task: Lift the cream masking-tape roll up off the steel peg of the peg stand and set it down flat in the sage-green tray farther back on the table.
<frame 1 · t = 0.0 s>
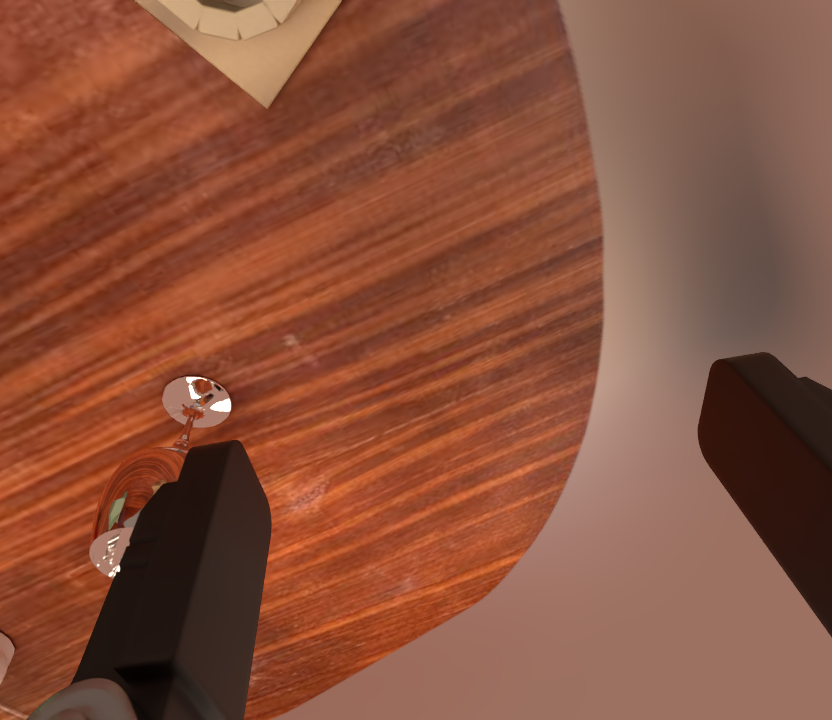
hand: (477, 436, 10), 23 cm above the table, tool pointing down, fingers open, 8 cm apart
wineglass: (198, 400, 37), on the table
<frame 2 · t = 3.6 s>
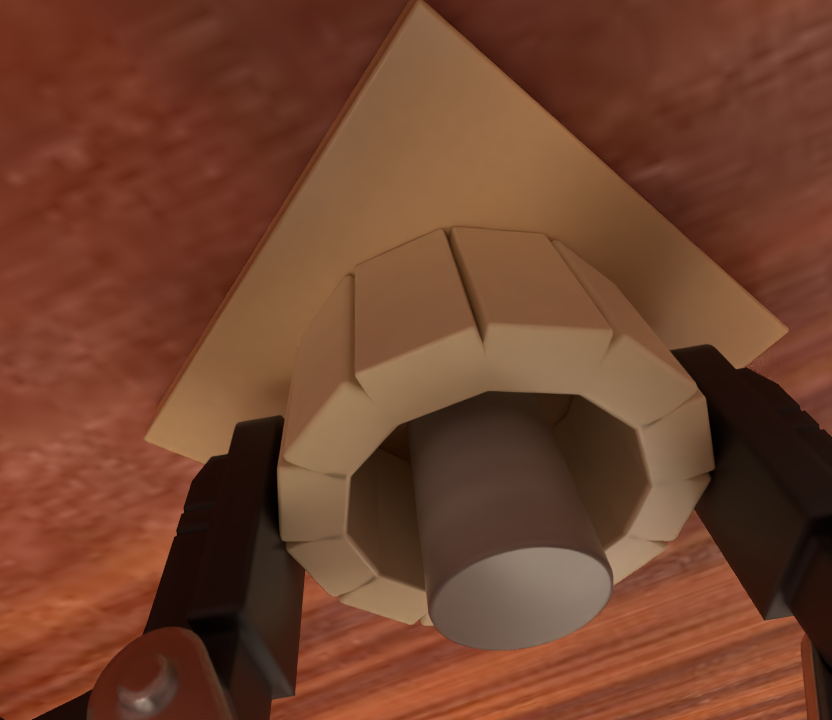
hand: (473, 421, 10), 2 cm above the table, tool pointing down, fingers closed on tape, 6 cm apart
peg stand: (457, 356, 11), on the table
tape: (465, 386, 11), point 1 cm above the table, touching gripper, peg stand
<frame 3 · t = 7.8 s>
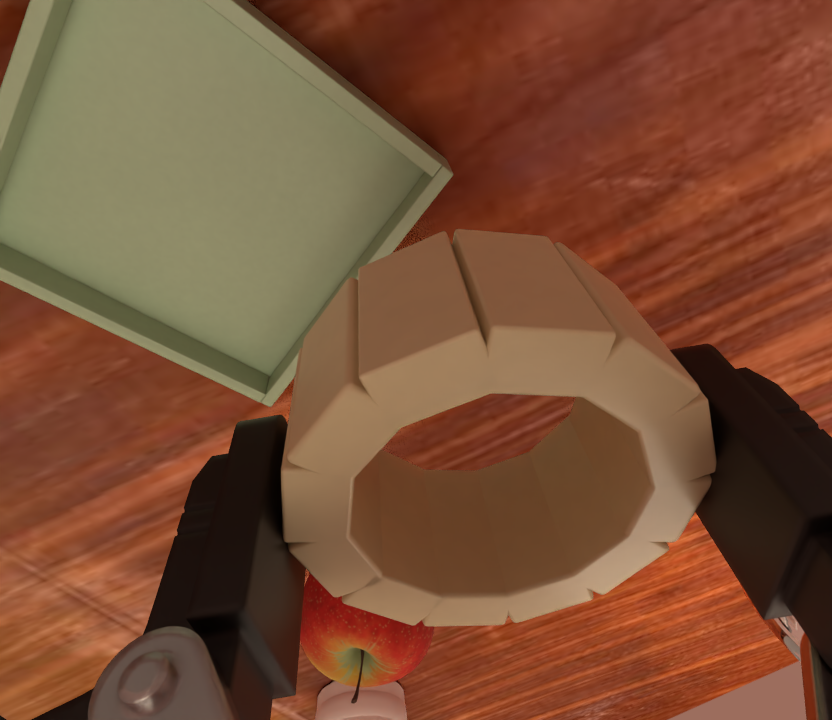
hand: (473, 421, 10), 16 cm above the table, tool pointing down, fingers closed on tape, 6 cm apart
wineglass: (713, 455, 36), on the table
bottle: (361, 692, 50), on the table
tray: (209, 196, 23), on the table
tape: (467, 387, 11), point 15 cm above the table, touching gripper
apple: (365, 543, 38), on the table
when the fingers open (1 cm above the table, at t = 12.2 s): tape stays where it is, resting on tray.
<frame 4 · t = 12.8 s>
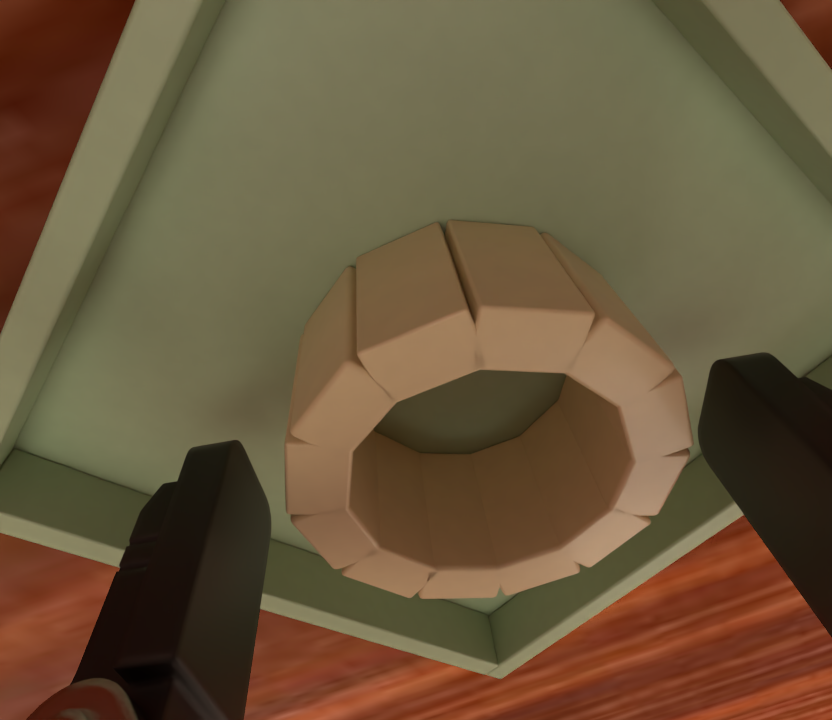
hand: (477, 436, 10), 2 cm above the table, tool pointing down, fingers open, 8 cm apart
tray: (455, 357, 12), on the table
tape: (460, 373, 11), resting on tray
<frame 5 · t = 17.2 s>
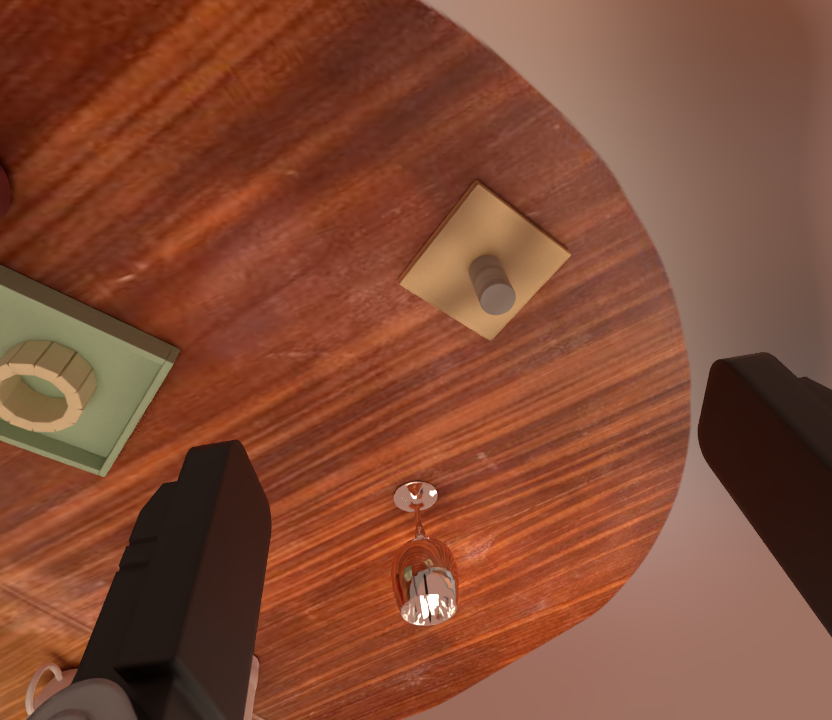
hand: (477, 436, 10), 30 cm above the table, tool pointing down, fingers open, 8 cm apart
wineglass: (415, 495, 55), on the table
bottle: (227, 660, 70), on the table
peg stand: (482, 263, 41), on the table
tray: (53, 370, 43), on the table
mug: (76, 670, 68), on the table
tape: (51, 375, 43), resting on tray
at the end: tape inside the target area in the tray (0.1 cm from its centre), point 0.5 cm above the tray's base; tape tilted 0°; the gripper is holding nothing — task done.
